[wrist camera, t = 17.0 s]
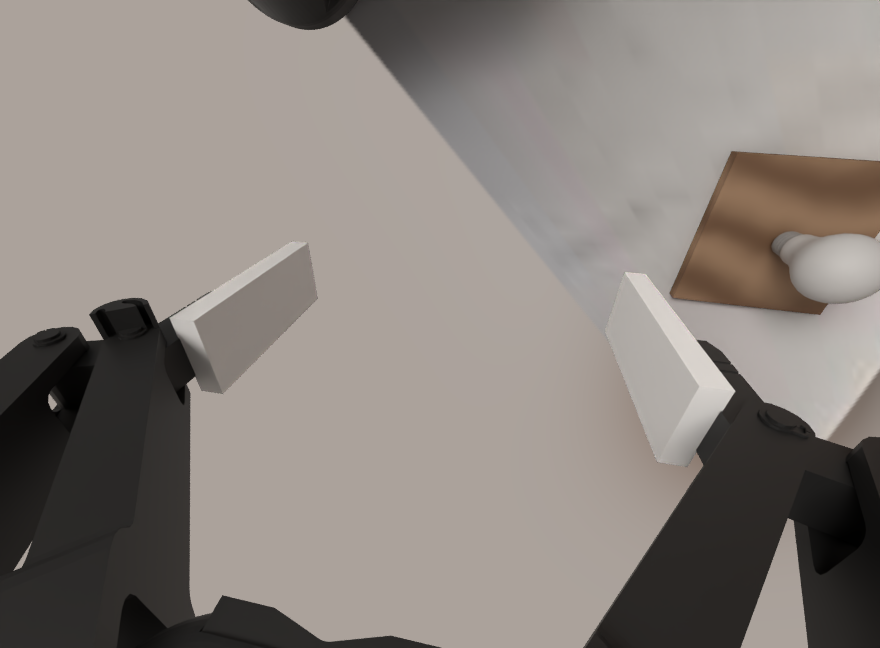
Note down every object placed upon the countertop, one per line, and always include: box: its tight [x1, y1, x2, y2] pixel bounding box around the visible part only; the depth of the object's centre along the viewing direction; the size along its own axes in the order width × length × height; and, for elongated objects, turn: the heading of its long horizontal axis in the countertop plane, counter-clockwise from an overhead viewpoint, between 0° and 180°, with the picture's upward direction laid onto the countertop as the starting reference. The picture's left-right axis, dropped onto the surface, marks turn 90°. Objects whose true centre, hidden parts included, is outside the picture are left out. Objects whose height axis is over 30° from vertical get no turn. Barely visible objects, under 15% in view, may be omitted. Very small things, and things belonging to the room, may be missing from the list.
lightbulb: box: [772, 231, 880, 304], centre depth 33 cm, size 6×6×11 cm
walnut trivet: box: [670, 151, 880, 315], centre depth 38 cm, size 16×16×1 cm
